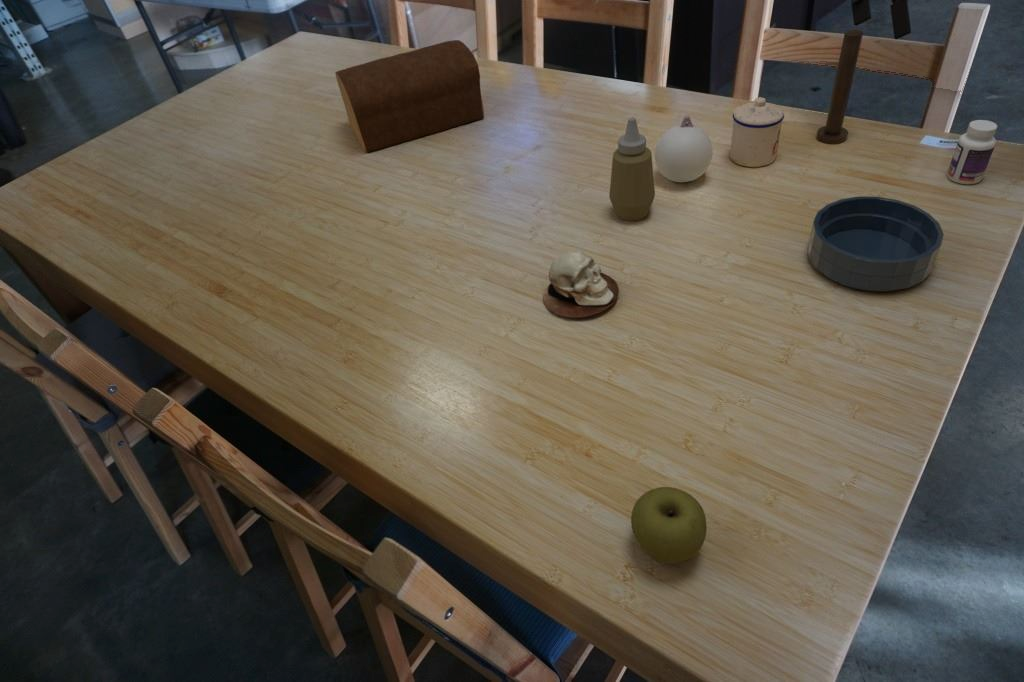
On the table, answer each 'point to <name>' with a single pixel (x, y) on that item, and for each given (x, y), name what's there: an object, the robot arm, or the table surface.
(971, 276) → the table surface
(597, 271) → the skull
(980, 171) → the pill bottle
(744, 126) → the teacup with lid
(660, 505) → the apple
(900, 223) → the bowl
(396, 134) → the bread
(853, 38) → the stirrer
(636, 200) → the squeeze bottle
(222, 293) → the table surface
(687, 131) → the ornament
